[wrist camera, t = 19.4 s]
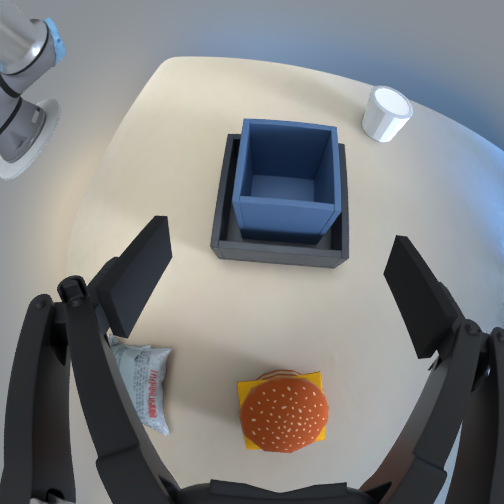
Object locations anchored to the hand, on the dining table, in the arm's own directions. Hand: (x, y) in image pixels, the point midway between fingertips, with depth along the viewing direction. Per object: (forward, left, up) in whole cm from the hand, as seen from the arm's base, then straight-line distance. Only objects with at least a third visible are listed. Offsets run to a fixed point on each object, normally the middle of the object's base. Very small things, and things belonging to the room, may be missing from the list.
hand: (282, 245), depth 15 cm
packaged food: (-15, -15, -18) cm, 27 cm away
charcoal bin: (+1, +9, -18) cm, 20 cm away
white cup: (+15, +25, -18) cm, 35 cm away
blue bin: (+1, +9, -17) cm, 19 cm away
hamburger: (+3, -15, -18) cm, 23 cm away
